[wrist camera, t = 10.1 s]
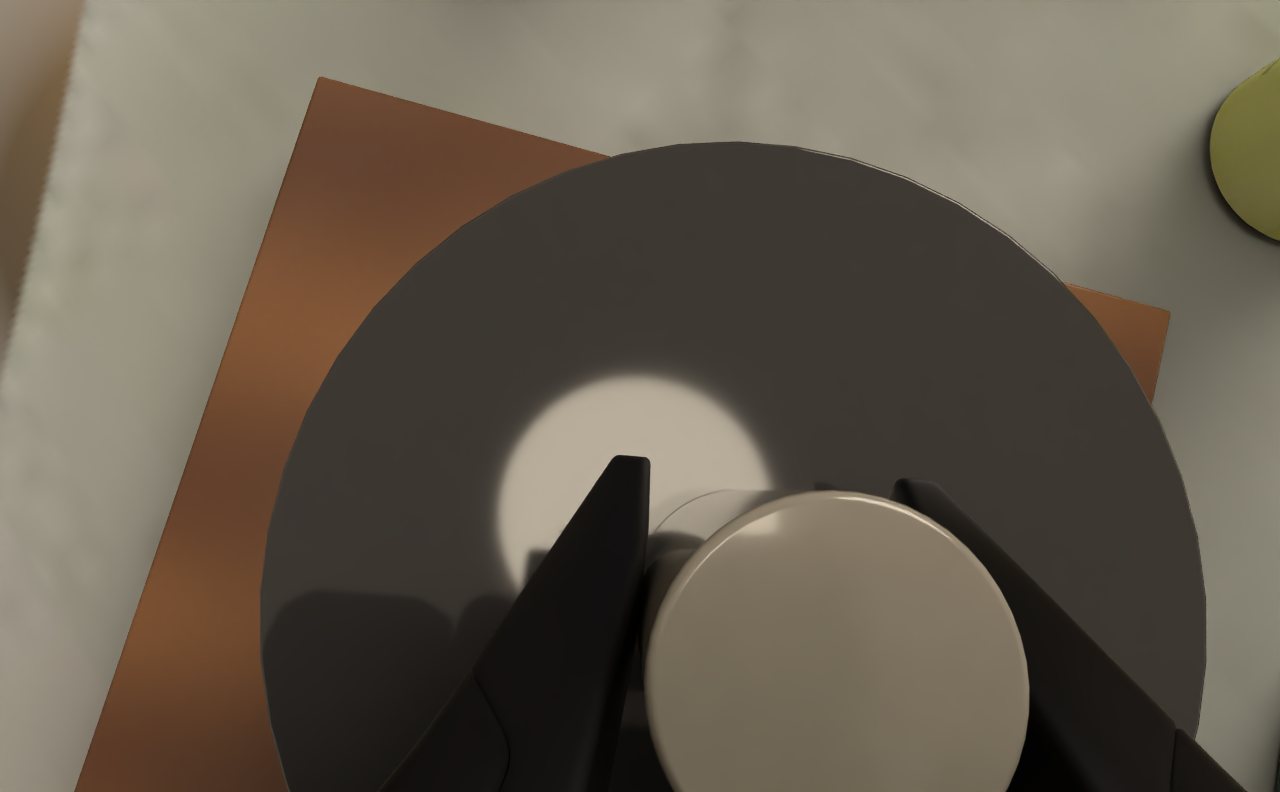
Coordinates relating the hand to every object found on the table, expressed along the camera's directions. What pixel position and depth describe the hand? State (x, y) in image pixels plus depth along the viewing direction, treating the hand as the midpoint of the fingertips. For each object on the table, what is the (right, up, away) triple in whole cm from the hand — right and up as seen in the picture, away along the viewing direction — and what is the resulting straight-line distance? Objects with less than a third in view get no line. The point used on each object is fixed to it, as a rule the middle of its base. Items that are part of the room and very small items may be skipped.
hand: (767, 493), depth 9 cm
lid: (0, -2, +2) cm, 2 cm away
